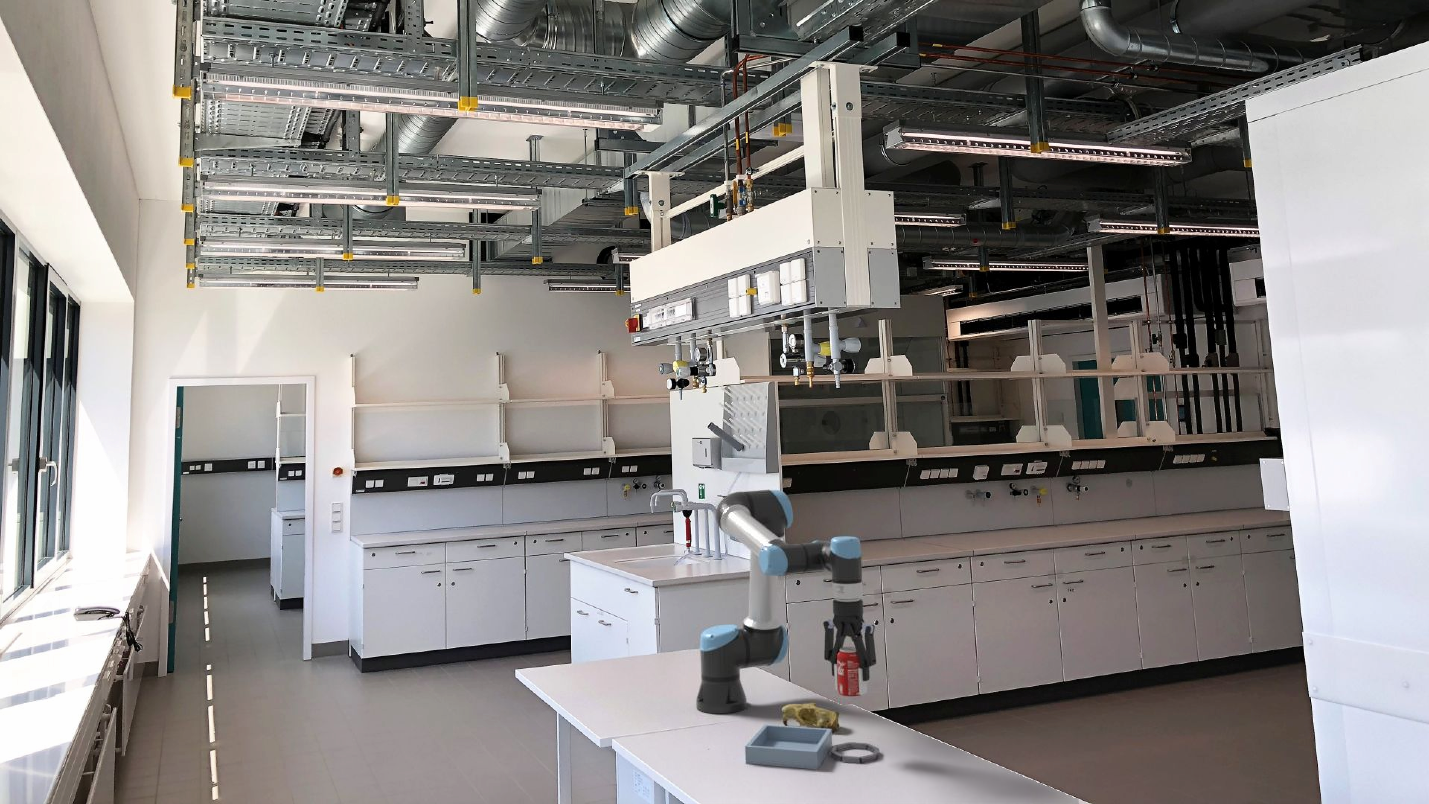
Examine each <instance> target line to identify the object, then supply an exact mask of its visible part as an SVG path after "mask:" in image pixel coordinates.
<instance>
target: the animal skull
mask: <svg viewBox="0 0 1429 804" xmlns="http://www.w3.org/2000/svg"><path fill="white" fill-rule="evenodd" d="M816 705H817V704H816V702H809V703H789V704H786V705H785V706H783V707H782V708H781V712H782V714H783V716H782V724H783V726H788V720H789V719H793V720H795V721H796V722H797V723H799V727H809V728H823V729H832V734H834V732H835V731H836V732H837V731H838V730H839V729H840V728H841V727H840V723H839V716H840V713H839V711H834V710H829V709H826V708H822V707H817V706H816Z"/></svg>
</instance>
